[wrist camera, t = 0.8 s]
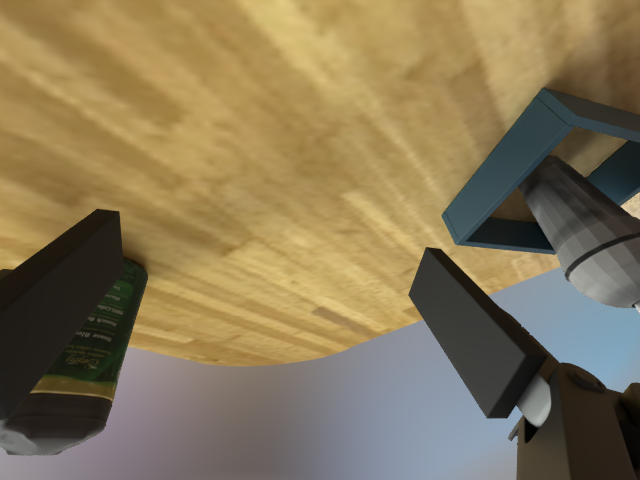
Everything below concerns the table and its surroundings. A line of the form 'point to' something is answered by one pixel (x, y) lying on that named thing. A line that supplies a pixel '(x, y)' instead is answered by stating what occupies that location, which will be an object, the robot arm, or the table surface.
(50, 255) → the robot arm
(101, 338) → the coffee jar
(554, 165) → the beverage cup
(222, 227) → the table surface
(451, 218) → the frame
